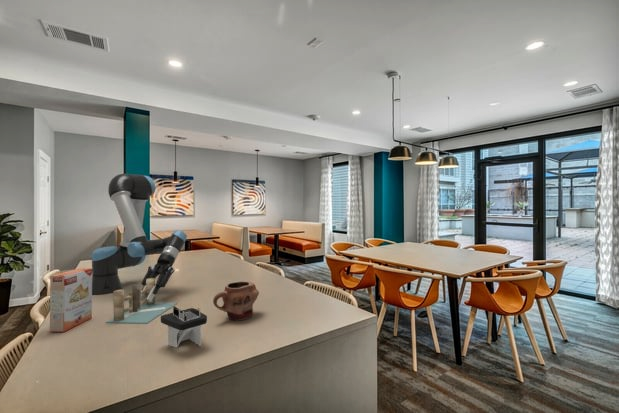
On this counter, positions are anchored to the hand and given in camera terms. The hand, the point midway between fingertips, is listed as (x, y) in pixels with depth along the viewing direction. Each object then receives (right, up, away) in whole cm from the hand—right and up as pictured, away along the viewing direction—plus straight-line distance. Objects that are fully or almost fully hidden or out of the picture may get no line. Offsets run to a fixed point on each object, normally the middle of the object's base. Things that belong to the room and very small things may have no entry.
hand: (144, 300), depth 137 cm
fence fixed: (-2, -4, -11) cm, 12 cm away
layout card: (+3, -4, -6) cm, 7 cm away
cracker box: (-18, -4, -19) cm, 26 cm away
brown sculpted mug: (+45, -4, -13) cm, 47 cm away
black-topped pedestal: (+33, -4, -37) cm, 50 cm away
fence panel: (0, -3, +1) cm, 3 cm away
